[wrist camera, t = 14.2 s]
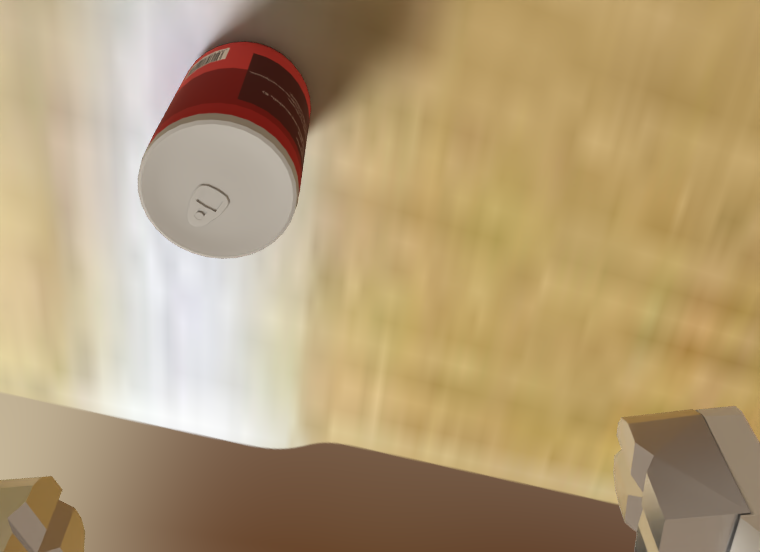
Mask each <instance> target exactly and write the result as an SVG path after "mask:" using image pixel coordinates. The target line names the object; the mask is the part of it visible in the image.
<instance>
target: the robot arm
mask: <svg viewBox="0 0 760 552" xmlns="http://www.w3.org/2000/svg"><path fill="white" fill-rule="evenodd" d="M617 437H618V440H619V443H620V446H621V448H622V449H621V450H620V451H619V452H618V453H617V454H616V455H615V458H614V480H615V489H616V494H617V498H618V502H619V506H620V509H621V512H622V516H623V519H624V522H625V523H626V524H627V525H628V526H630V527H631V528H632V529H633V530H634V531H636V532H637V536H636V544H635V551H634V552H760V442H759V441H758V439H757V437H756V435H755V434H754V432H753V430H752V428H751V427H750V425H749V423H748V421H747V420H746V418H745V416H744V414H743V412H742V411H741V410H739V409H738V408H737V407H736V406H728V407H718V408H709V409H699V410H693V409H691V410H682V411H673V412H665V413H656V414H647V415H638V416H630V417H622V418H621V419H620V421H619V423H618V430H617ZM61 491H62V489H61V487H60V486H59V485H58V484H57V482H56V481H55V480H54V479H53V477H52V476H49V477H35V478H24V479H23V478H22V479H9V480H0V552H84V540H85V530H84V527H83V523H82V519H81V517H80V516H79V514H78V512H77V511H76V509H75V508H74V507H72V506H70V505H68V504H66V503H64V502H62V501H60V500H59V497H60V494H61Z"/></svg>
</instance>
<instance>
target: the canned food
mask: <svg viewBox="0 0 760 552" xmlns="http://www.w3.org/2000/svg"><path fill="white" fill-rule="evenodd" d="M310 112H311V106H310V96H309V93H308V89H307V86H306V84H305V82H304V80H303V78H302V76H301V74H300V73H299V71H298V70H297V69H296V68H295V66H294V65H293V64H292V63H291V61H289V60H288V59H287V58H286V57H285V56H284V55H282V54H281V53H280V52H278V51H276V50H274V49H272V48H271V47H268V46H265V45H262V44H259V43H253V42H233V43H229V44H225V45H221V46H218V47H216V48H214V49H212V50H210V51H208V52H206V53H205V54H204V55H203V56H201V57H200V58H199V59H198V60H196V62H195V63H194V64H193V66H192V67H191V68H190V69H189V71H188V73H187V75H186V76H185V78H184V80H183V82H182V84H181V85H180V87H179V89H178V91H177V93H176V95H175V96H174V98H173V100H172V102H171V104H170V106H169V107H168V109H167V111H166V113H165V115H164V117H163V118H162V120H161V122H160V124H159V126H158V127H157V129H156V131H155V133H154V135H153V137H152V139H151V141H150V143H149V145H148V147H147V149H146V152H145V154H144V156H143V158H142V162H141V165H140V170H139V175H138V193H139V197H140V200H141V204H142V207H143V209H144V211H145V213H146V215H147V217H148V219H149V220H150V221H151V223H152V224H153V225H154V227H155V228H156V229H157V230H158V231H159V232H160V233H161V234H162V235H163V236H164V237H165V238H167V239H168V240H169V241H171V242H172V243H174V244H175V245H177V246H178V247H180V248H182V249H185V250H187V251H189V252H191V253H194V254H198V255H202V256H205V257H211V258H221V259H224V258H238V257H242V256H247V255H251V254H253V253H255V252H258V251H260V250H263V249H264V248H266V247H267V246H269V245H270V244H272V243H273V242H275V241H276V240H277V239H278V238H279V237H280V236H281V235H282V234H283V233H284V231H285V230H286V228H287V227H288V225H289V223H290V222H291V220H292V217H293V214H294V211H295V209H296V206H297V203H298V196H299V192H300V185H301V178H302V171H303V163H304V156H305V149H306V141H307V134H308V127H309V119H310Z"/></svg>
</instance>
